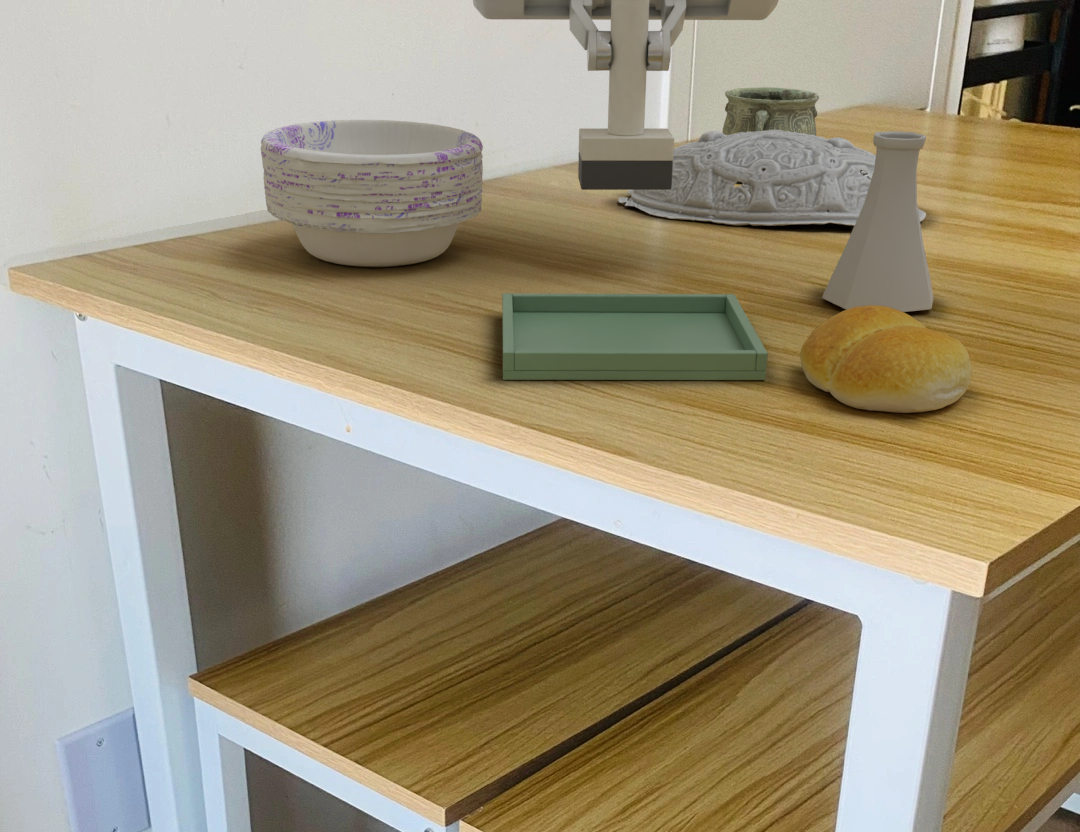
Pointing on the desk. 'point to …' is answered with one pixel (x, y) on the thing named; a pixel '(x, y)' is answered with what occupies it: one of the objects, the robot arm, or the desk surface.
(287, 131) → the paper bowls
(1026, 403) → the desk surface
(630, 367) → the tray
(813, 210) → the grey carved stone ornament
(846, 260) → the flask
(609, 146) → the brush
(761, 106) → the vessel
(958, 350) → the bread roll
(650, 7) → the robot arm
